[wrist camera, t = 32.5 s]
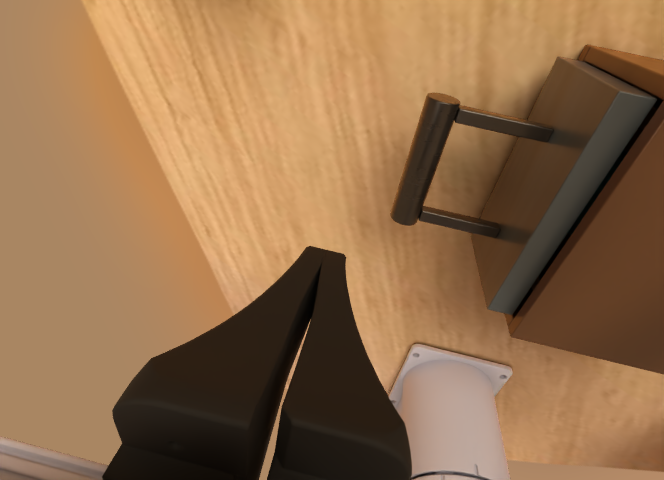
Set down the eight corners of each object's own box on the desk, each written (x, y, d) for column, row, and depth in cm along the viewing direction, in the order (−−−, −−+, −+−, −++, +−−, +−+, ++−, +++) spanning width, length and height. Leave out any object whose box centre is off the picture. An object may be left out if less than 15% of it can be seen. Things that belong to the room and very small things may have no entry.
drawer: (384, 216, 23) (376, 282, 18) (438, 30, 17) (450, 54, 12) (677, 284, 22) (754, 374, 17) (845, 116, 16) (1039, 180, 11)
